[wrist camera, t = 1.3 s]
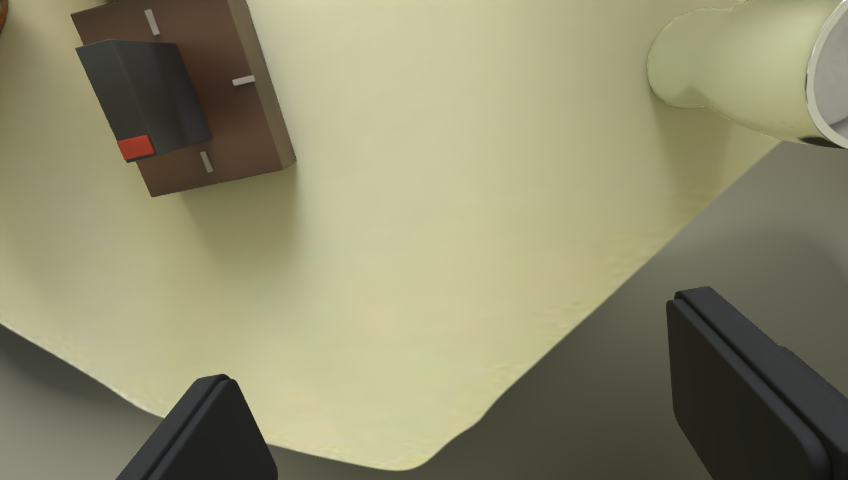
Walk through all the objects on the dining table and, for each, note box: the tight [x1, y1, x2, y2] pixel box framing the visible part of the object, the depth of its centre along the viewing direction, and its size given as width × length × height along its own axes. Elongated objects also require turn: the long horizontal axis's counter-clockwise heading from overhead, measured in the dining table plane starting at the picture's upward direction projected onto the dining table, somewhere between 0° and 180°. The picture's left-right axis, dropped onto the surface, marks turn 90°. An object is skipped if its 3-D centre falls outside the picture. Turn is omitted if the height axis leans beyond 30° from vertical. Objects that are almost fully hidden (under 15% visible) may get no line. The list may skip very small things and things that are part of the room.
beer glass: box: [647, 0, 848, 149], centre depth 23 cm, size 7×7×15 cm
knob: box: [75, 39, 212, 163], centre depth 27 cm, size 6×2×6 cm, turn 12°
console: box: [71, 0, 297, 197], centre depth 31 cm, size 12×10×3 cm
